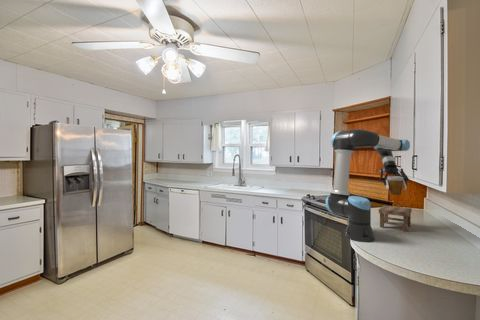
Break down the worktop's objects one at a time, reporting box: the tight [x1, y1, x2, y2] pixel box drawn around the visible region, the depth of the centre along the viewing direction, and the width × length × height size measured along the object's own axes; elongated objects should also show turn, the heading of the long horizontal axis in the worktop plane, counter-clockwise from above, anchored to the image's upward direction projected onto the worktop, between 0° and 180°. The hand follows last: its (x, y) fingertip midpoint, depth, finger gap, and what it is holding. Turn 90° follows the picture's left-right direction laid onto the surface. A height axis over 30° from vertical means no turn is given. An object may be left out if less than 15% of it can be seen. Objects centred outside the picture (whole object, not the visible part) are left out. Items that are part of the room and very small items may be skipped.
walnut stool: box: [378, 205, 413, 233], centre depth 158 cm, size 16×16×12 cm
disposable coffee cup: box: [386, 175, 404, 196], centre depth 158 cm, size 10×10×12 cm
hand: (396, 188), depth 155 cm, fingers closed on disposable coffee cup, 9 cm apart
